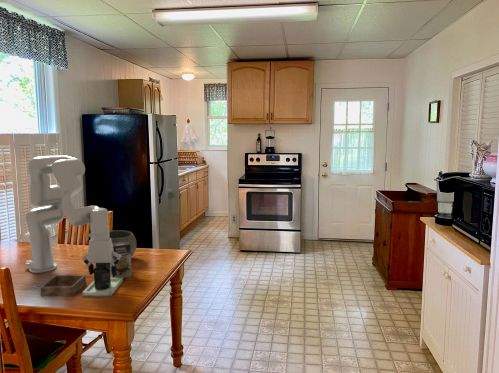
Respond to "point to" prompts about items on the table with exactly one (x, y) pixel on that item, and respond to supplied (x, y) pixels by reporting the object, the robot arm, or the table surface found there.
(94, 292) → the tray
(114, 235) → the bowl
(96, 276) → the supplement bottle
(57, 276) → the holder
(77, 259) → the table surface
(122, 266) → the coffee box
